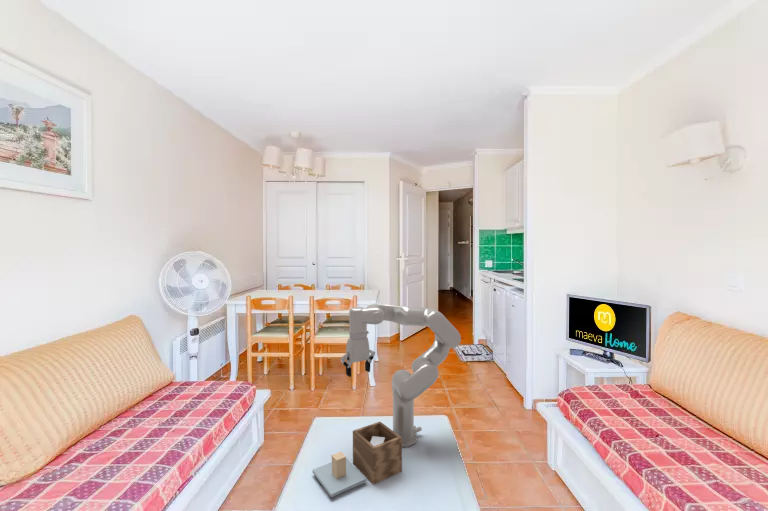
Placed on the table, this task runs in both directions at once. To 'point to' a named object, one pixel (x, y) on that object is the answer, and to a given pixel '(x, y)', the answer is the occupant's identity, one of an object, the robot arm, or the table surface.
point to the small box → (377, 440)
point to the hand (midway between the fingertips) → (358, 373)
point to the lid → (338, 475)
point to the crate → (377, 452)
